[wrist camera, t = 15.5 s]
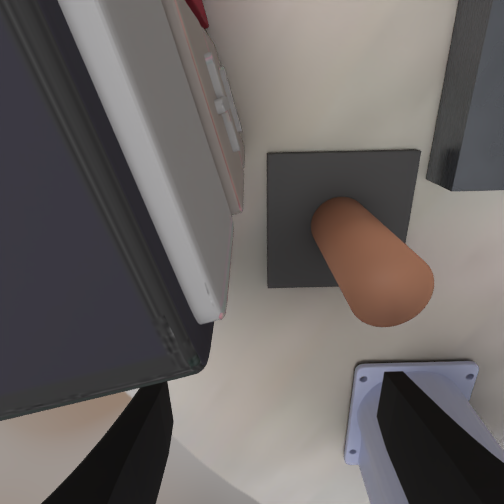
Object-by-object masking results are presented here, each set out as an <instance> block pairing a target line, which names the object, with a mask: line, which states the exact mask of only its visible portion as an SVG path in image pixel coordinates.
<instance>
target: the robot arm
mask: <svg viewBox="0 0 504 504" xmlns="http://www.w3.org/2000/svg"><path fill="white" fill-rule="evenodd" d="M478 372H479V367H478V365H477V364H476V363H475V362H473V361H453V362H413V363H374V364H360V365H358V366H357V367H356V369H355V375H354V382H353V390H352V398H351V405H350V413H349V421H348V428H347V436H346V444H345V451H344V460H345V463H346V464H349V465H359V467H360V471H361V474H362V477H363V480H364V484H365V487H366V490H367V494H368V497H369V500H370V504H504V450H503V449H502V448H501V446H500V445H499V443H498V442H497V441H496V439H495V438H494V437H493V435H492V434H491V432H490V431H489V430H488V428H487V427H486V425H485V424H484V423H483V421H482V420H481V418H480V417H479V416H478V414H477V413H476V411H475V410H474V409H473V407H472V406H471V404H470V403H469V400H470V397H471V394H472V390H473V387H474V384H475V381H476V378H477V375H478ZM363 376H365V377H363ZM361 377H363V378H361ZM172 428H173V415H172V409H171V402H170V396H169V390H168V383H167V381H166V382H162V383H157V384H153V385H149V386H145V387H141V388H140V389H139V390H138V391H137V393H136V394H135V396H134V397H133V398H132V400H131V401H130V403H129V404H128V405H127V407H126V408H125V409H124V411H123V412H122V413H121V415H120V416H119V417H118V419H117V420H116V421H115V422H114V424H113V425H112V426H111V428H110V429H109V430H108V431H107V433H106V434H105V435H104V436H103V438H102V439H101V440H100V441H99V442H98V444H97V445H96V446H95V447H94V448H93V449H92V450H91V452H90V453H89V454H88V455H87V456H86V458H85V459H84V460H83V461H82V462H81V463H80V464H79V466H77V468H76V469H75V470H74V471H73V472H72V473H71V474H70V475H69V476H68V477H67V478H66V479H65V480H64V481H63V483H62V484H61V485H60V486H59V487H58V488H57V489H56V490H55V491H54V492H53V493H52V494H51V495H50V496H49V497H48V498H47V499H46V500H44V501H43V502H42V503H41V504H156V500H157V497H158V493H159V489H160V485H161V481H162V478H163V473H164V470H165V466H166V462H167V458H168V454H169V448H170V441H171V435H172Z"/></svg>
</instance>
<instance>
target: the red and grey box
mask: <svg viewBox="0 0 504 504" xmlns="http://www.w3.org/2000/svg"><path fill="white" fill-rule="evenodd" d="M208 27H209V24H208V20H207V17H206V13H205V10H204V6H203V3H202V0H0V421H2V420H6V419H11V418H15V417H19V416H23V415H27V414H32V413H36V412H40V411H44V410H49V409H53V408H57V407H61V406H65V405H69V404H74V403H78V402H82V401H86V400H90V399H95V398H99V397H103V396H107V395H111V394H116V393H119V392H124V391H128V390H132V389H136V388H141V387H145V386H149V385H153V384H157V383H162V382H166V381H170V380H174V379H178V378H182V377H186V376H190V375H193V374H197V373H199V372H200V371H202V370H203V369H204V367H205V366H206V364H207V362H208V358H209V353H210V347H211V340H212V333H213V326H214V321H217V320H221V319H222V318H223V317H224V316H225V313H226V307H227V299H228V287H229V276H230V265H231V254H232V243H233V232H234V226H233V219H232V216H231V215H234V214H238V213H241V212H242V211H243V198H244V170H243V169H244V161H245V149H244V145H243V141H242V138H241V134H240V132H242V128H241V124H240V121H239V117H238V114H237V110H236V107H235V103H234V100H233V96H232V93H231V89H230V86H229V82H228V79H227V75H226V72H225V68H224V66H221V65H220V62H219V58H218V55H217V51H216V48H215V45H214V43H213V42H212V40H211V39H210V37H209V36H208V34H207V33H206V31H205V30H204V29H206V28H208Z"/></svg>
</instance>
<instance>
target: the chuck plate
mask: <svg viewBox="0 0 504 504" xmlns="http://www.w3.org/2000/svg"><path fill="white" fill-rule="evenodd" d="M426 179H427V180H429V181H431V182H433V183H436V184H438V185H440V186H442V187H444V188H446V189H448V190H450V191H486V190H504V0H459V4H458V9H457V15H456V20H455V25H454V31H453V36H452V42H451V47H450V53H449V58H448V63H447V69H446V74H445V80H444V85H443V90H442V96H441V101H440V107H439V112H438V118H437V123H436V128H435V134H434V139H433V145H432V150H431V155H430V161H429V166H428V172H427V177H426Z"/></svg>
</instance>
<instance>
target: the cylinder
mask: <svg viewBox="0 0 504 504" xmlns="http://www.w3.org/2000/svg"><path fill="white" fill-rule="evenodd" d="M311 232H312V235H313V237H314V239H315V241H316V243H317V245H318V247H319V249H320V251H321V253H322V255H323V257H324V258H325V260H326V262H327V264H328V266H329V268H330V270H331V272H332V274H333V276H334V278H335V279H336V281H337V283H338V285H339V287H340V289H341V291H342V293H343V295H344V297H345V299H346V300H347V302H348V304H349V306H350V308H351V310H352V312H353V313H354V315H355V316H356V317H357V318H358V319H360V320H361V321H362V322H364V323H366V324H369V325H372V326H376V327H391V326H396V325H399V324H402V323H405V322H407V321H409V320H410V319H412V318H414V317H415V316H416V315H418V314H419V313H420V312H421V311H422V310H423V309H424V308H425V306H426V305H427V304H428V302H429V300H430V298H431V296H432V293H433V289H434V277H433V273H432V271H431V269H430V267H429V266H428V265H427V263H426V262H425V261H424V260H422V259H421V258H420V257H419V256H418V255H417V254H416V253H415V252H414V251H412V250H411V249H410V248H409V247H408V246H407V245H406V244H405V243H403V242H402V241H401V240H400V239H399V238H398V237H397V236H396V235H395V234H393V233H392V232H391V231H390V230H389V229H388V228H387V227H386V226H384V225H383V224H382V223H381V222H380V221H379V220H378V219H377V218H376V217H374V216H373V215H372V214H371V213H370V212H369V211H368V210H367V209H366V208H364V207H363V206H362V205H361V204H360V203H359V202H358V201H356V200H354V199H352V198H349V197H336V198H332V199H329V200H328V201H326V202H324V203H323V204H322V205H320V206H319V208H318V209H317V210H316V211H315V213H314V215H313V217H312V221H311Z"/></svg>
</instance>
